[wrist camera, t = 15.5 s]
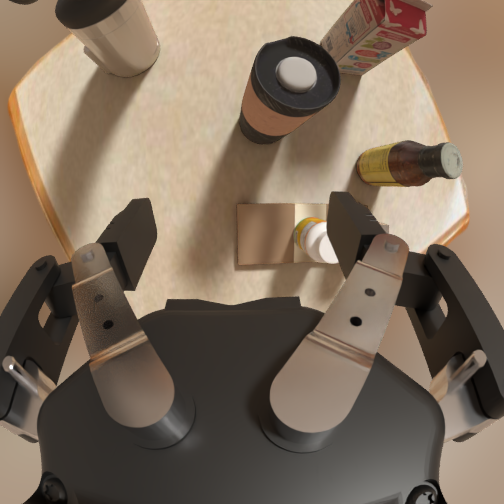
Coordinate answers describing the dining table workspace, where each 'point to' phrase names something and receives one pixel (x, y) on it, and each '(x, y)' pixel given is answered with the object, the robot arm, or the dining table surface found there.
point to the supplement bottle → (314, 240)
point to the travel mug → (287, 88)
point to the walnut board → (273, 231)
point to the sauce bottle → (409, 164)
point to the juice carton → (374, 32)
